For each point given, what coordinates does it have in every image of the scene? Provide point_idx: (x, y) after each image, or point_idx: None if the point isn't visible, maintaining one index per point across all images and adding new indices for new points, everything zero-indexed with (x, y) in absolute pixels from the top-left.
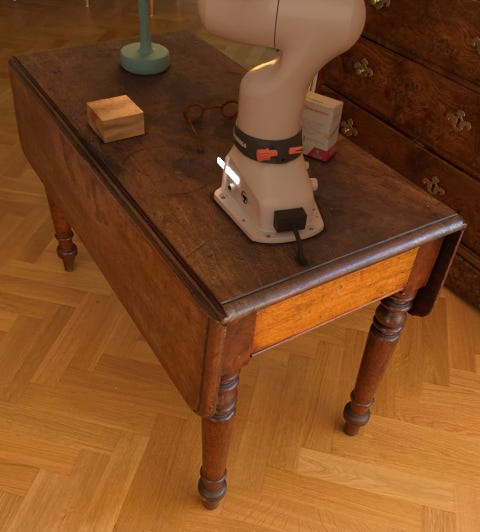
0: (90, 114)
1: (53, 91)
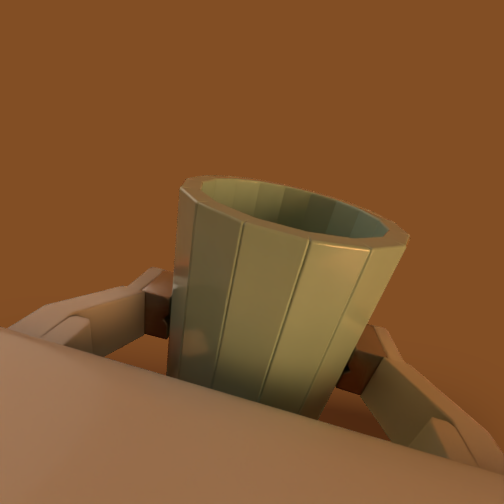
0: None
1: None
